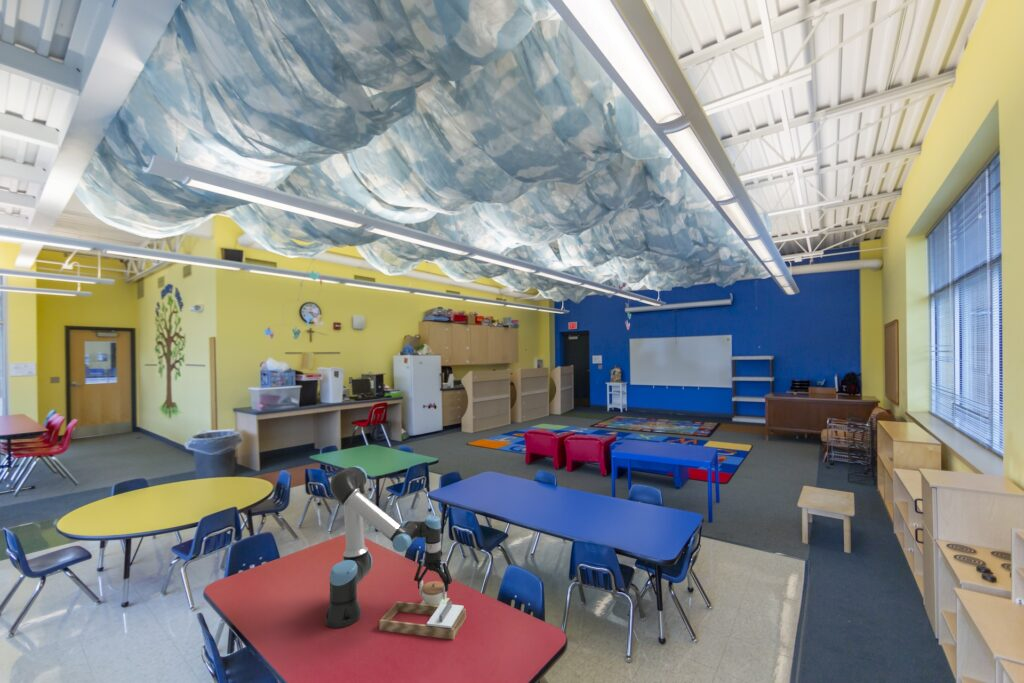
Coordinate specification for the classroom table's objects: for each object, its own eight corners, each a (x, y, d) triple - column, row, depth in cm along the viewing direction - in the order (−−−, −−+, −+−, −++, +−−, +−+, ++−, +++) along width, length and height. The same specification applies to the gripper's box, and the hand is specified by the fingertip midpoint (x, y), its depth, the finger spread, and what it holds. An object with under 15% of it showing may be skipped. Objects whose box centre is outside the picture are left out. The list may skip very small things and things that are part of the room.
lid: (426, 625, 184) (426, 617, 184) (440, 605, 199) (440, 597, 199) (451, 628, 181) (451, 619, 181) (463, 607, 197) (463, 599, 197)
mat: (416, 610, 203) (416, 608, 203) (426, 596, 215) (426, 595, 215) (440, 612, 201) (440, 611, 201) (449, 599, 212) (449, 598, 212)
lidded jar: (439, 610, 201) (440, 590, 202) (418, 608, 204) (418, 587, 204) (447, 598, 212) (448, 579, 212) (427, 595, 214) (427, 576, 214)
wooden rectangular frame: (379, 630, 188) (379, 620, 188) (397, 609, 204) (397, 601, 204) (453, 639, 181) (453, 629, 181) (465, 617, 196) (465, 608, 197)
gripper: (406, 551, 208) (406, 598, 207) (453, 555, 203) (453, 603, 202) (413, 545, 216) (413, 590, 214) (458, 548, 210) (459, 595, 209)
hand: (433, 596), depth 208 cm, fingers open, 11 cm apart
